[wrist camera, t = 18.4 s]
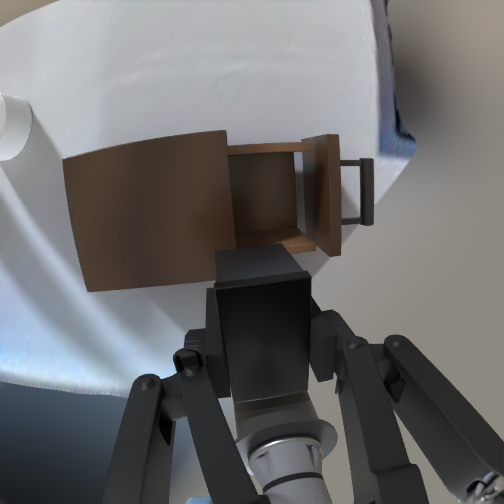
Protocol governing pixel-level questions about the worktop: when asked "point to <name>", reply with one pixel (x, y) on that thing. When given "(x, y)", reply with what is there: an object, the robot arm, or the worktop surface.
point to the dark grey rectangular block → (263, 320)
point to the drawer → (294, 194)
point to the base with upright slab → (13, 125)
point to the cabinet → (151, 210)
